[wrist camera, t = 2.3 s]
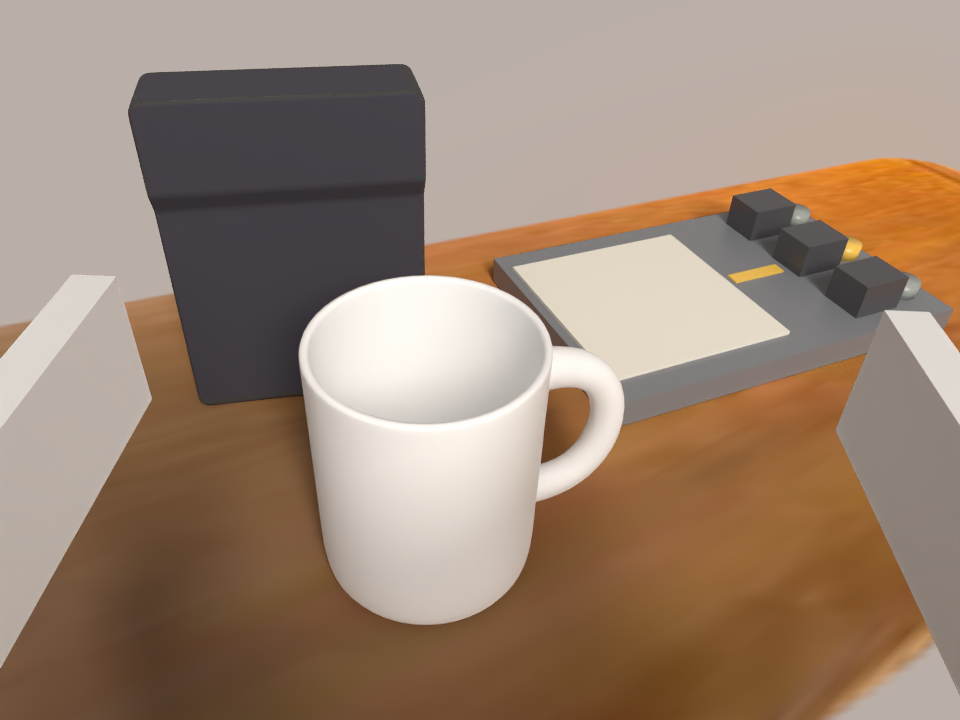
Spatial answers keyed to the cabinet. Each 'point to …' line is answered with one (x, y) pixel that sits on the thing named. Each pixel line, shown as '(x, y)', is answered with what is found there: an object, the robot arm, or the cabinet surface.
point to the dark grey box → (277, 205)
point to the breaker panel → (714, 300)
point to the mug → (439, 439)
